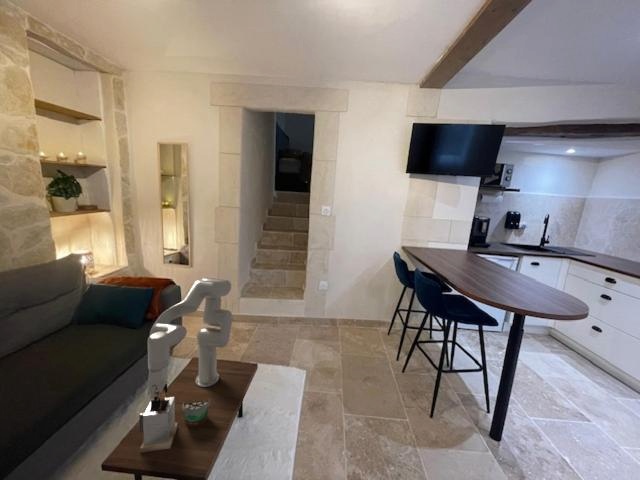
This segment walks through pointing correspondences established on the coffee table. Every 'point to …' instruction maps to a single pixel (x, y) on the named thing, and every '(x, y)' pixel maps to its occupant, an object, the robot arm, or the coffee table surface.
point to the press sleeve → (158, 422)
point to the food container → (196, 413)
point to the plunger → (161, 398)
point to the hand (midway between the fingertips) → (159, 399)
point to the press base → (160, 446)
